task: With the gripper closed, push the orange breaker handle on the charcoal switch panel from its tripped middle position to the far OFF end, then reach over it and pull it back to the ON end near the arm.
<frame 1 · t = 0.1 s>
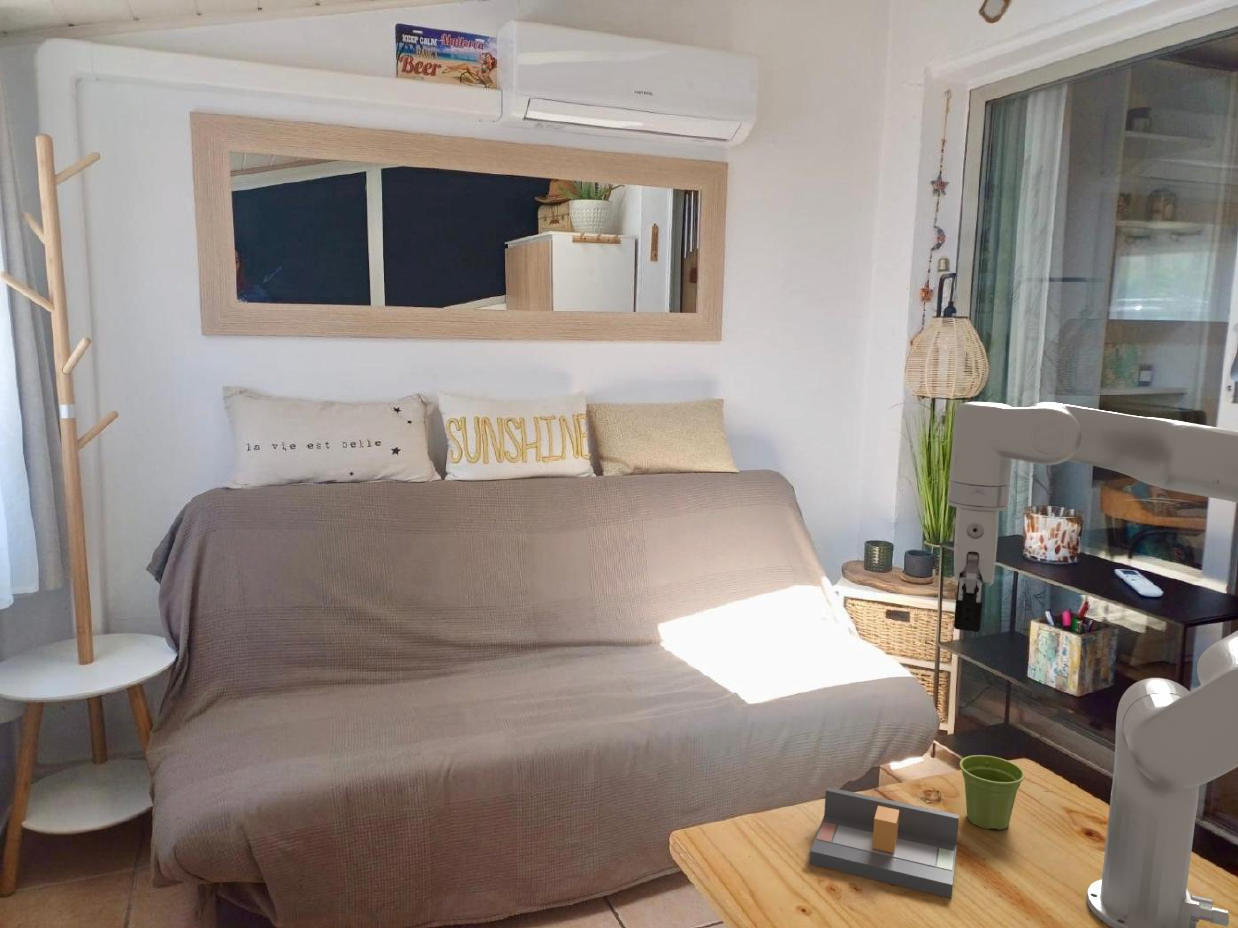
hand: (967, 619, 125), 37 cm above the table, tool pointing down, fingers open, 9 cm apart
breaker handle: (885, 828, 131), point 5 cm above the table, slide at 0.0 cm
switch panel: (883, 858, 132), on the table
plant pot: (987, 821, 143), on the table
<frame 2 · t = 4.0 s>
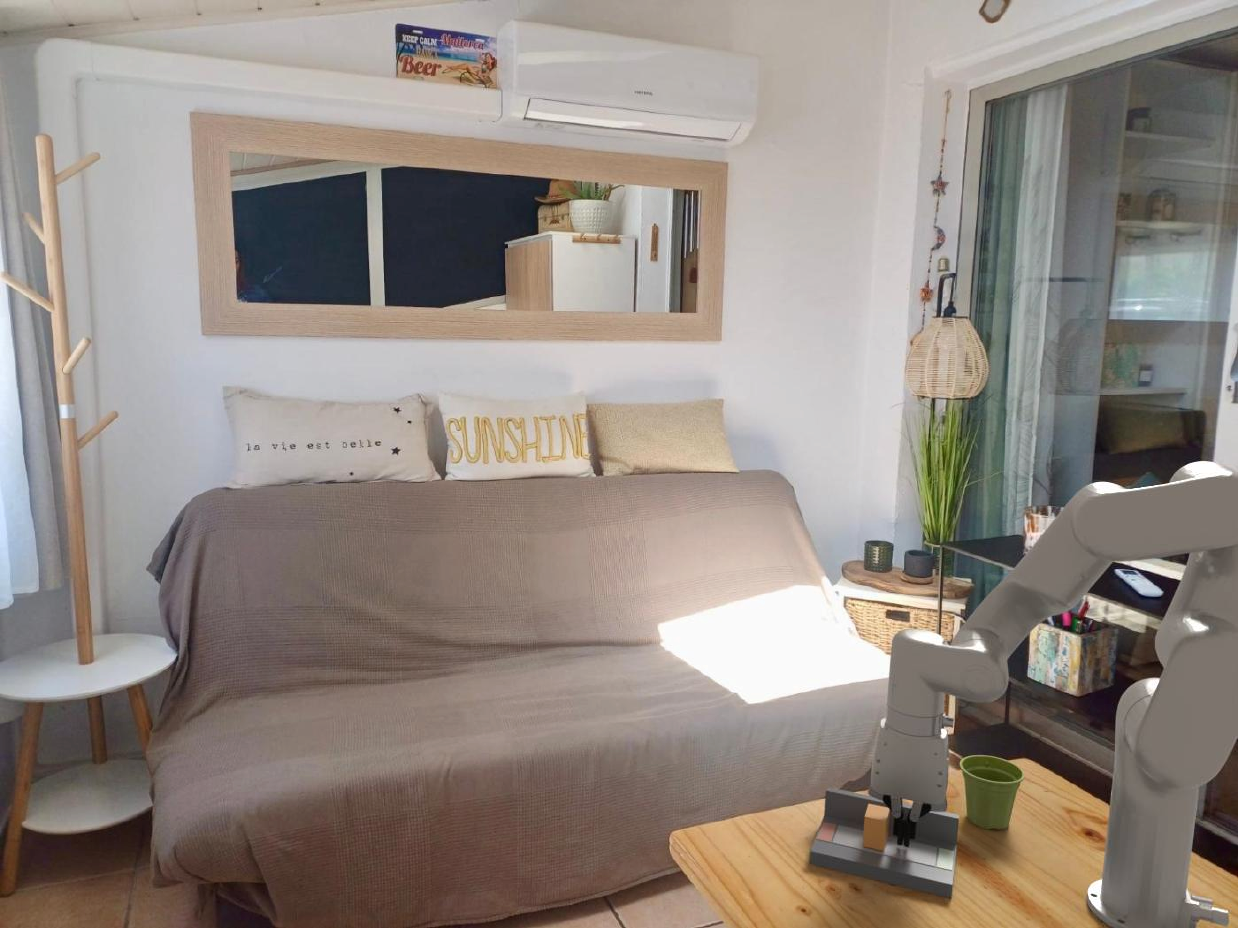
hand: (903, 841, 131), 3 cm above the table, tool pointing down, fingers closed
breaker handle: (876, 826, 132), point 5 cm above the table, slide at 1.3 cm, touching gripper
everything else where it was.
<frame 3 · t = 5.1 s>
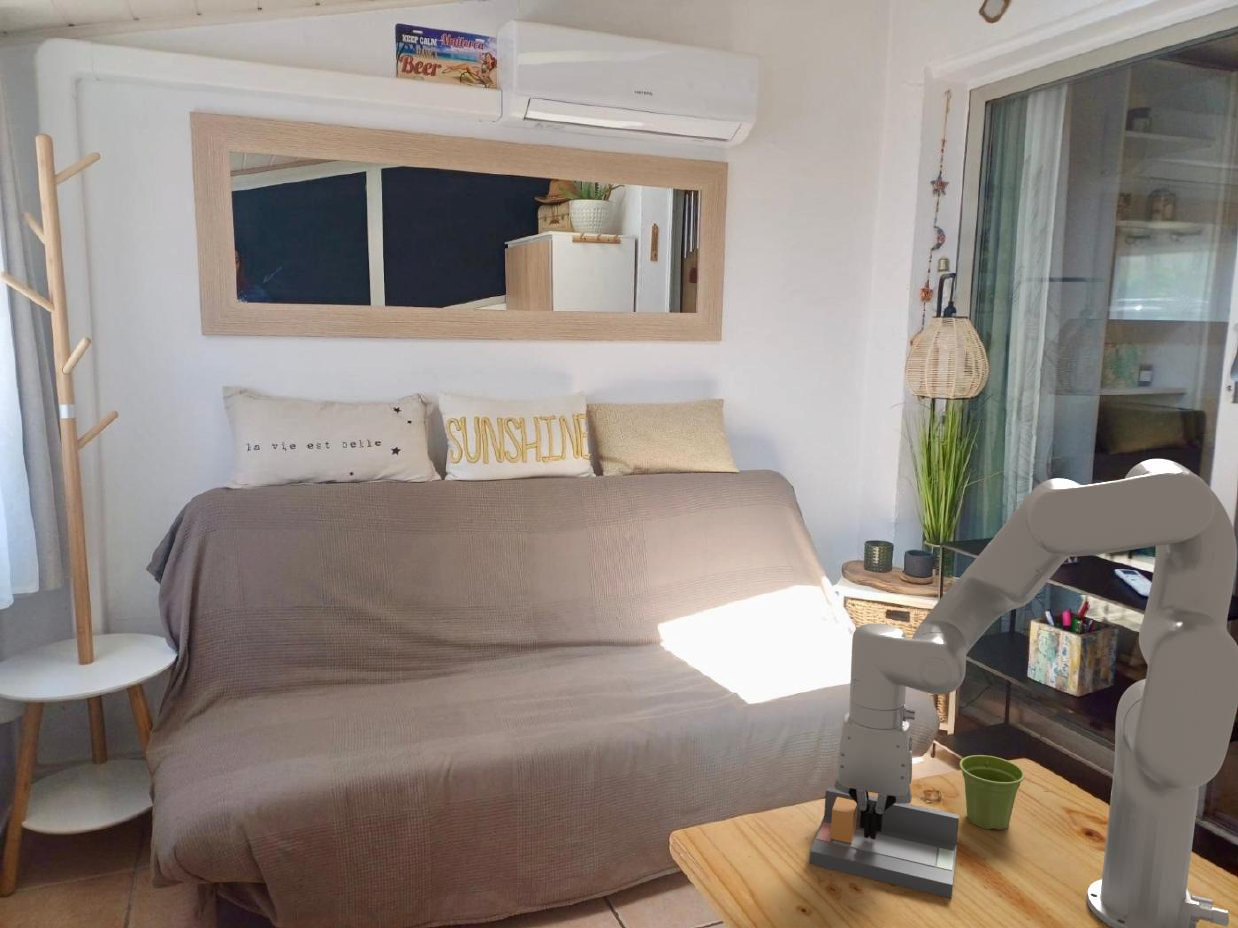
hand: (870, 833, 132), 3 cm above the table, tool pointing down, fingers closed
breaker handle: (844, 819, 134), point 5 cm above the table, slide at 5.9 cm, touching gripper
everything else where it was.
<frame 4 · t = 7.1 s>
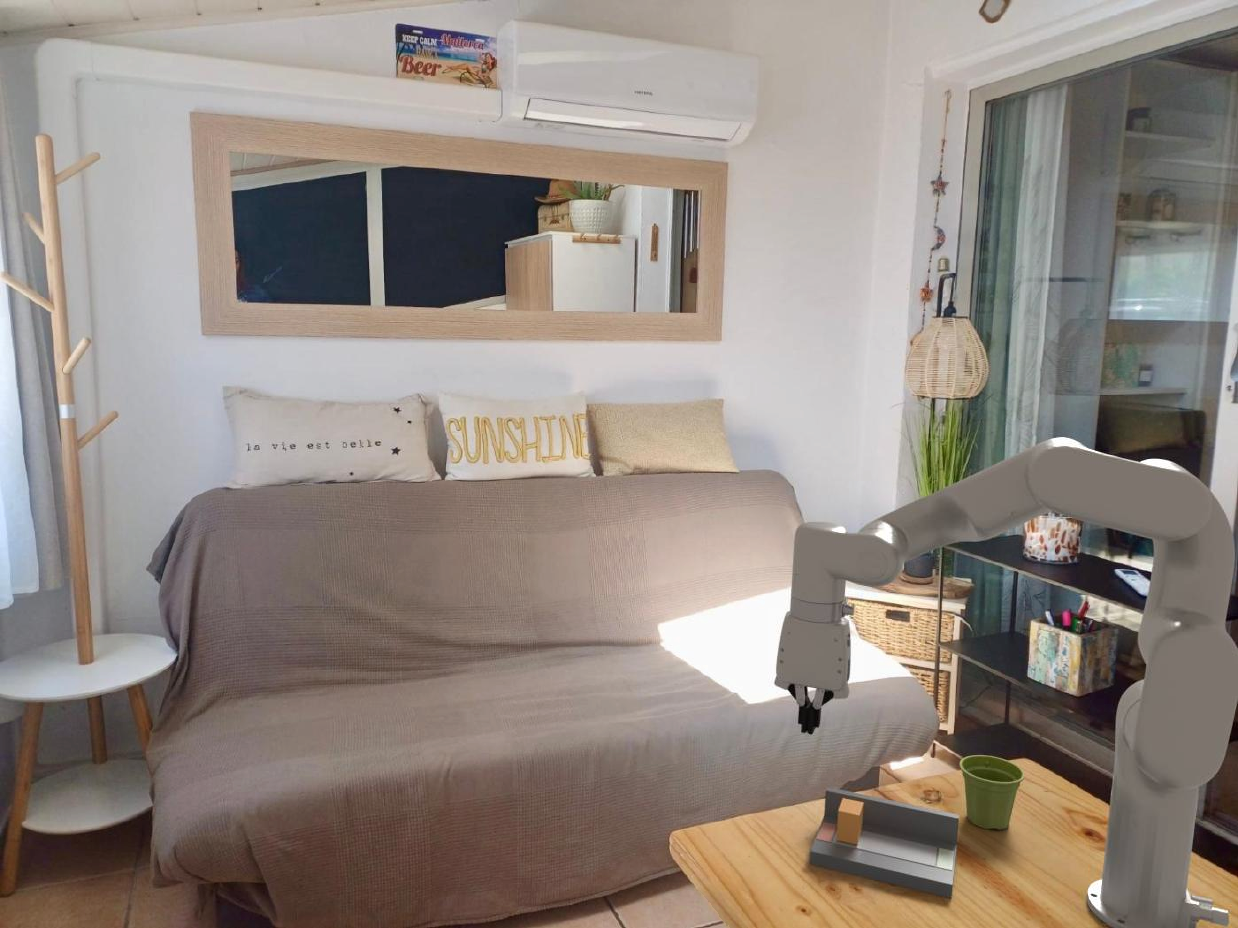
hand: (808, 729, 134), 17 cm above the table, tool pointing down, fingers closed
breaker handle: (850, 820, 133), point 5 cm above the table, slide at 5.0 cm
everything else where it was.
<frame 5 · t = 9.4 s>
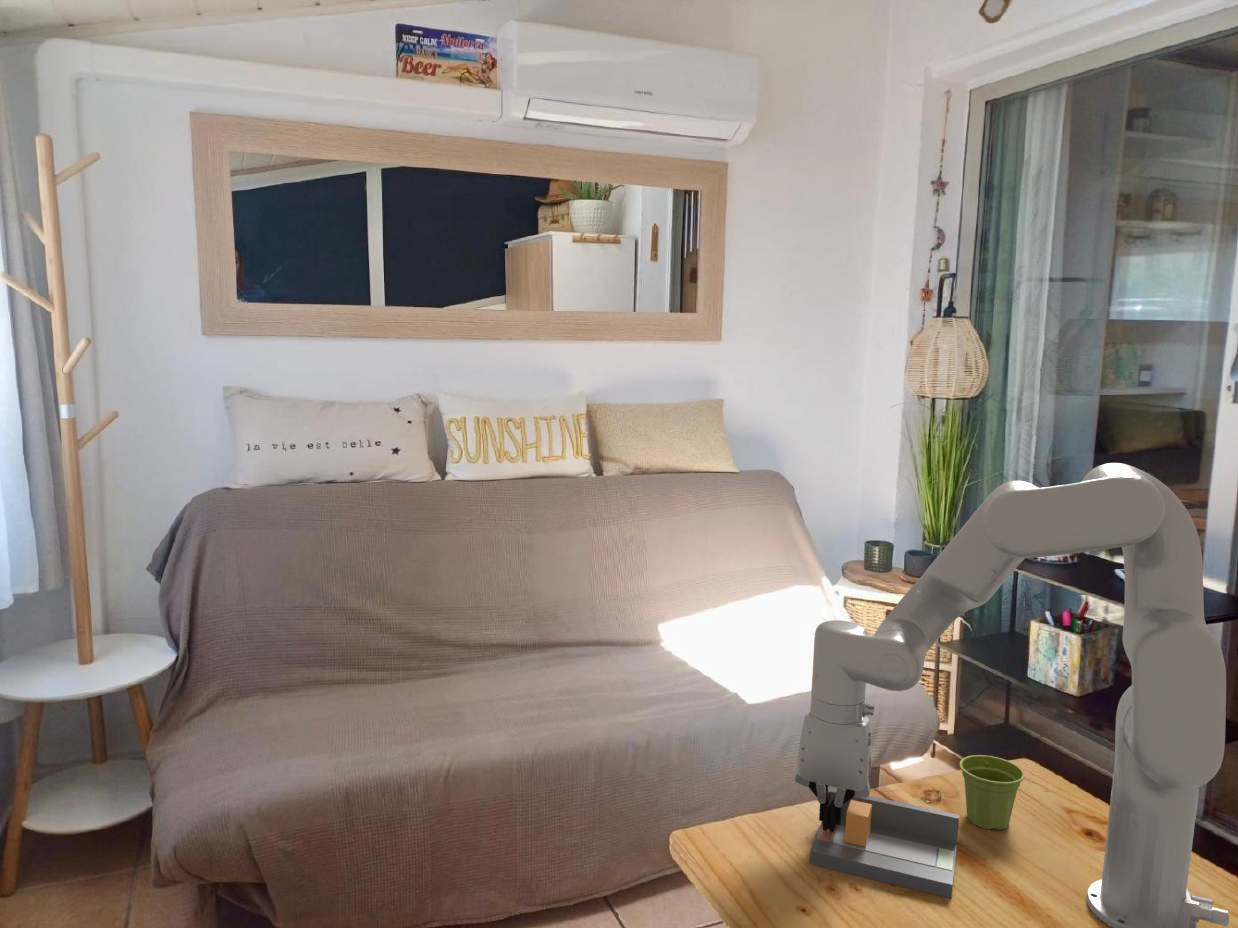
hand: (829, 826, 135), 3 cm above the table, tool pointing down, fingers closed
breaker handle: (858, 822, 133), point 5 cm above the table, slide at 3.8 cm, touching gripper
everything else where it was.
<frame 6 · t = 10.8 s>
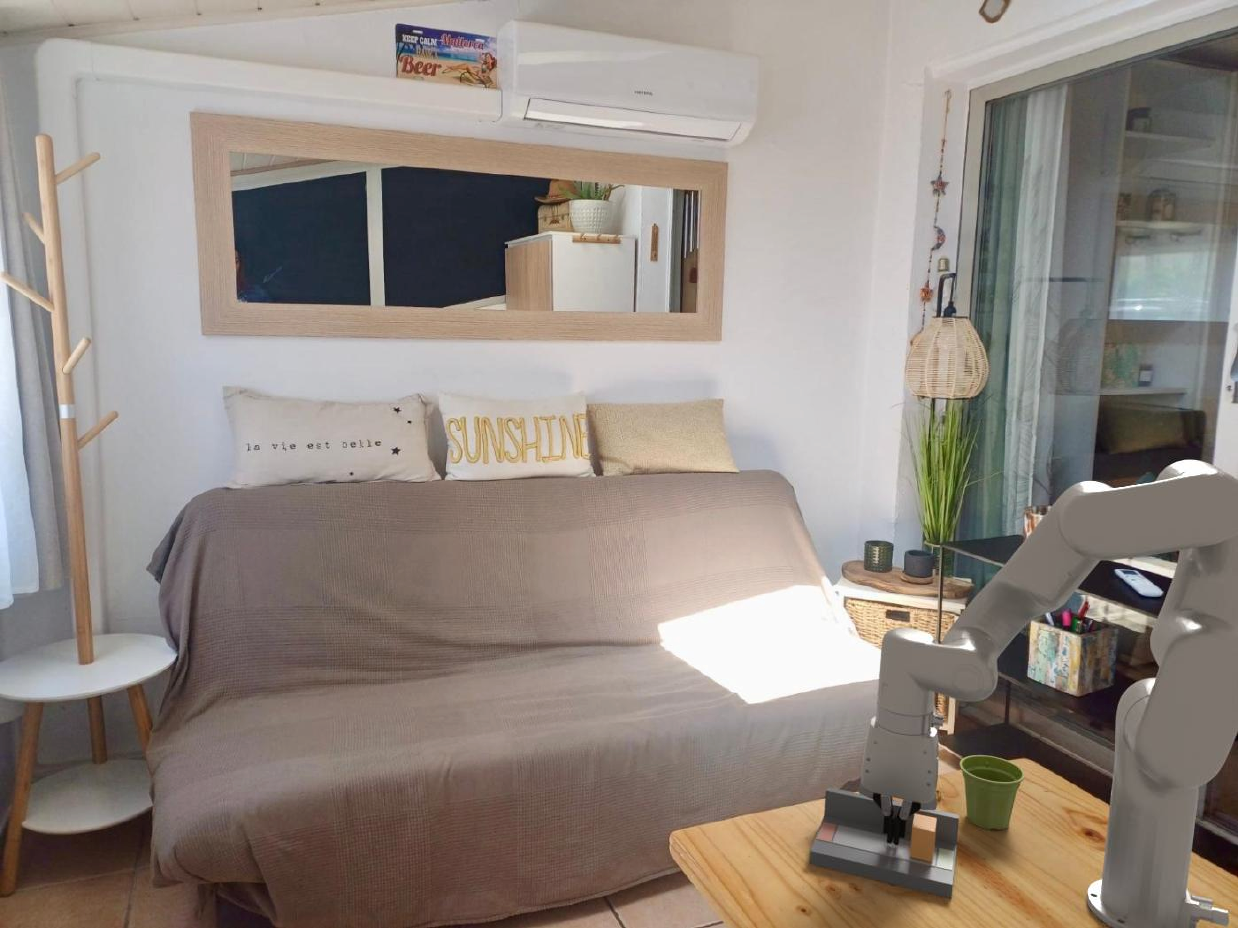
hand: (893, 839, 131), 3 cm above the table, tool pointing down, fingers closed
breaker handle: (923, 837, 129), point 5 cm above the table, slide at -5.1 cm, touching gripper
everything else where it was.
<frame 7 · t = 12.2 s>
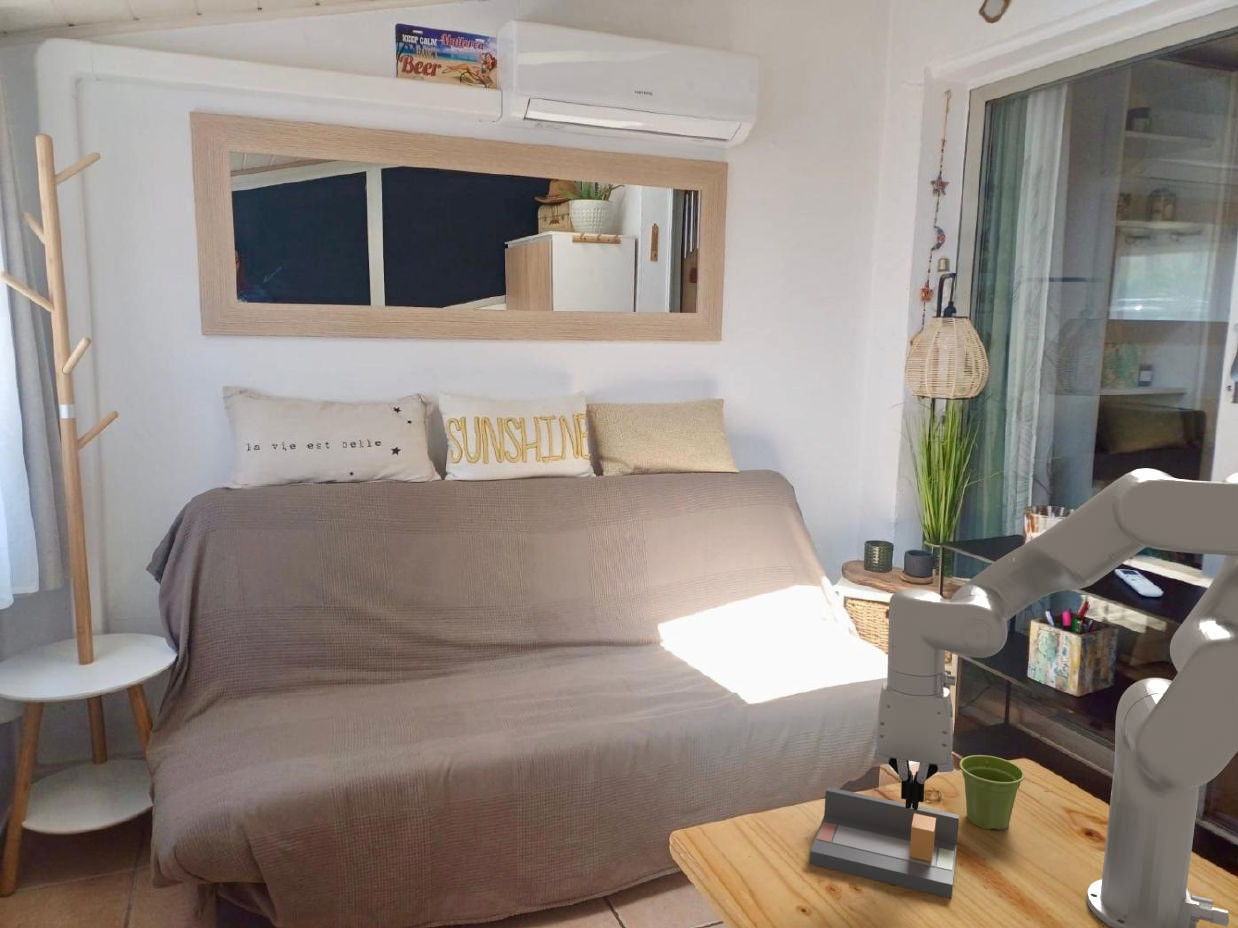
hand: (912, 804, 130), 9 cm above the table, tool pointing down, fingers closed
breaker handle: (922, 837, 130), point 5 cm above the table, slide at -5.0 cm
everything else where it was.
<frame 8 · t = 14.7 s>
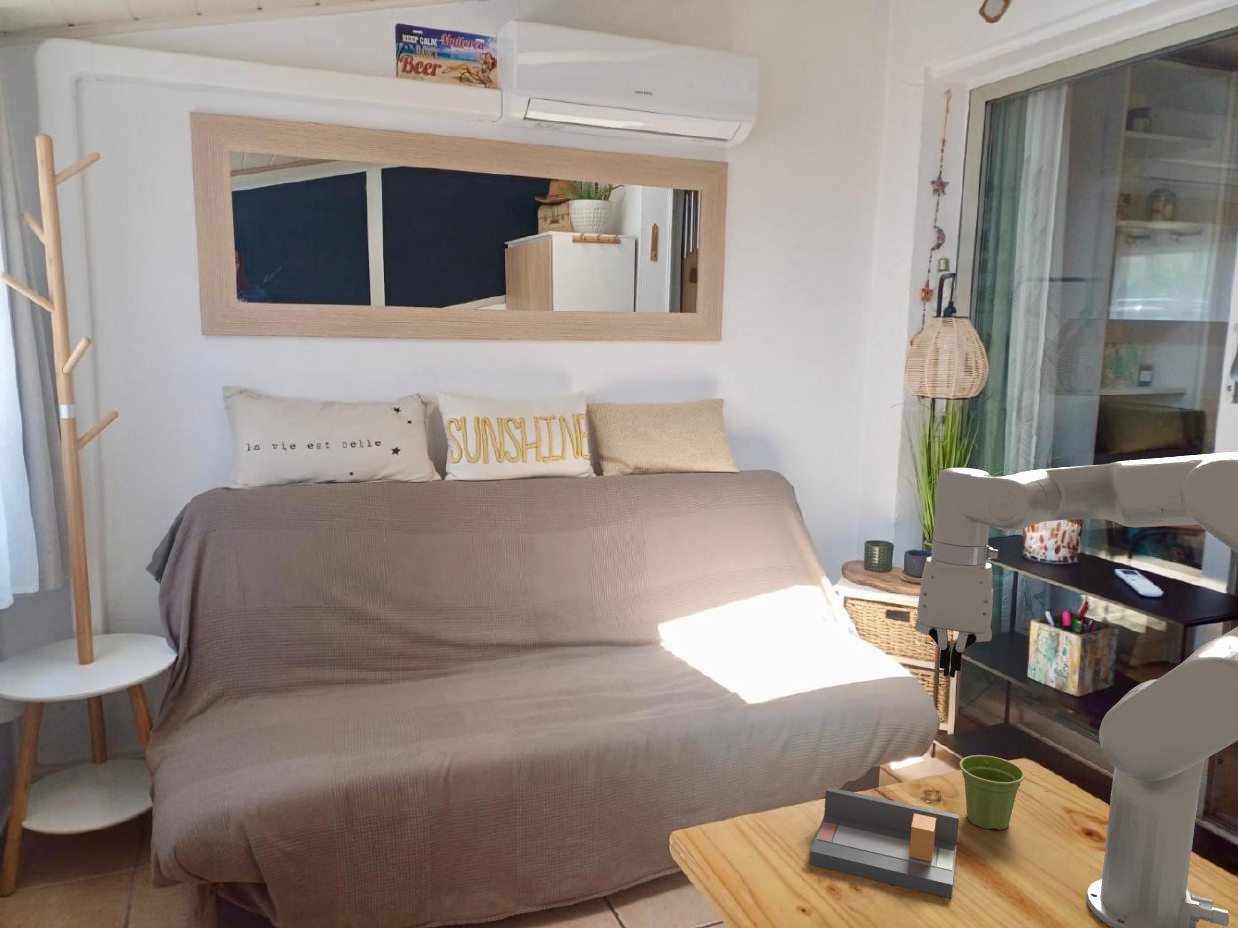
hand: (949, 673, 136), 25 cm above the table, tool pointing down, fingers closed
nothing on the table moved.
at the end: breaker handle slide at -5.0 cm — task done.
